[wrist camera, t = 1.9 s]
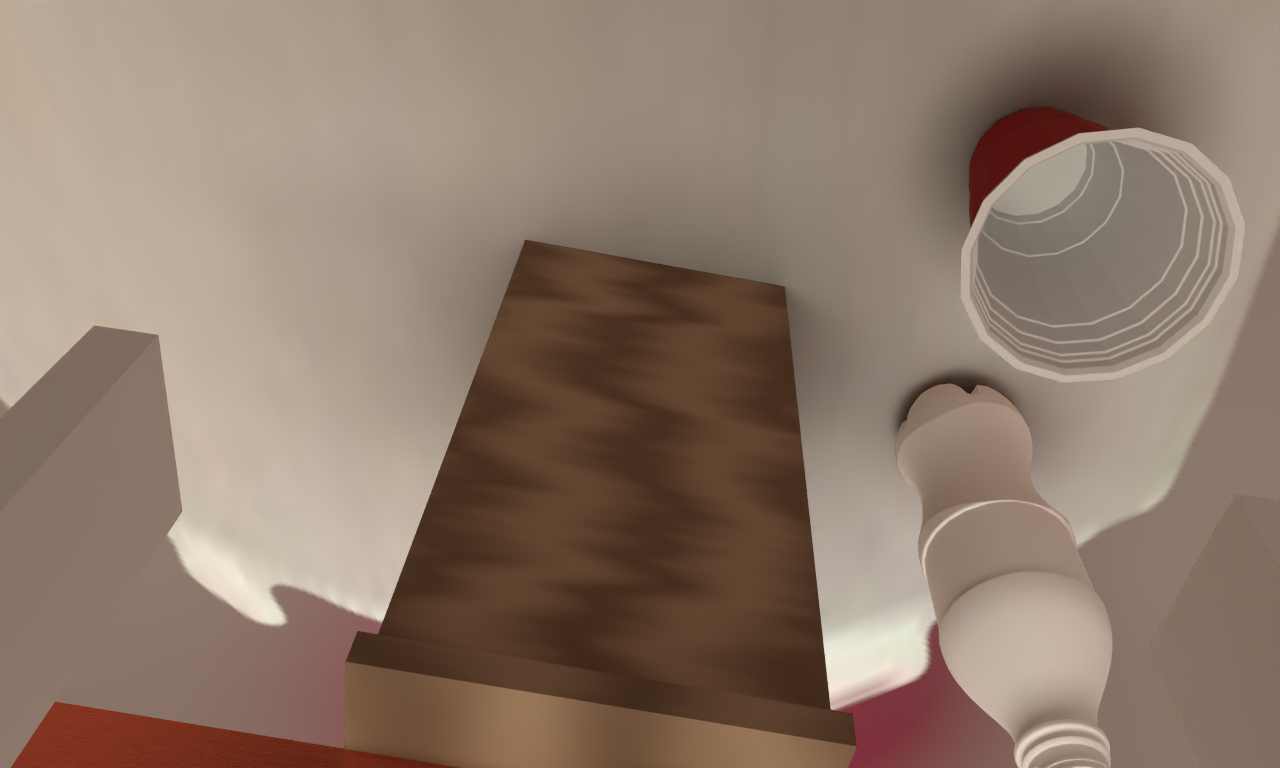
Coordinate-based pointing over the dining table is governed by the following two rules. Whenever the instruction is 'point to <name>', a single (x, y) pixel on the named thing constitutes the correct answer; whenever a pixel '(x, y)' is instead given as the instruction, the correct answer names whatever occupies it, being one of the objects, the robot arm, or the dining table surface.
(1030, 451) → the water bottle
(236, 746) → the lever
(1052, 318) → the plastic cup
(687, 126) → the dining table surface
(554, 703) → the stand
